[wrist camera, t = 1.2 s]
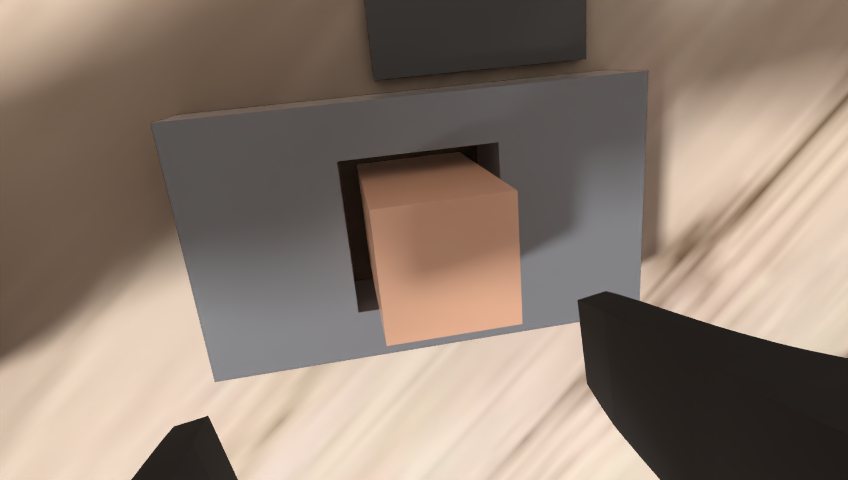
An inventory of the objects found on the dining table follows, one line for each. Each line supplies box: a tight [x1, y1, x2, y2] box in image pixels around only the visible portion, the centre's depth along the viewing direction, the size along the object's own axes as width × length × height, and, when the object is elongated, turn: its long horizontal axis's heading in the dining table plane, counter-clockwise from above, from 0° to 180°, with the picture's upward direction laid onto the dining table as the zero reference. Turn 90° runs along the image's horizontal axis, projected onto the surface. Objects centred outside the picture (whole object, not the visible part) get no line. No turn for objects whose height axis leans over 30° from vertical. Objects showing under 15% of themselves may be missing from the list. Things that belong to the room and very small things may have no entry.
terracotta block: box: [357, 152, 523, 346], centre depth 18 cm, size 4×4×7 cm
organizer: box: [151, 70, 648, 382], centre depth 20 cm, size 16×9×3 cm, turn 96°
